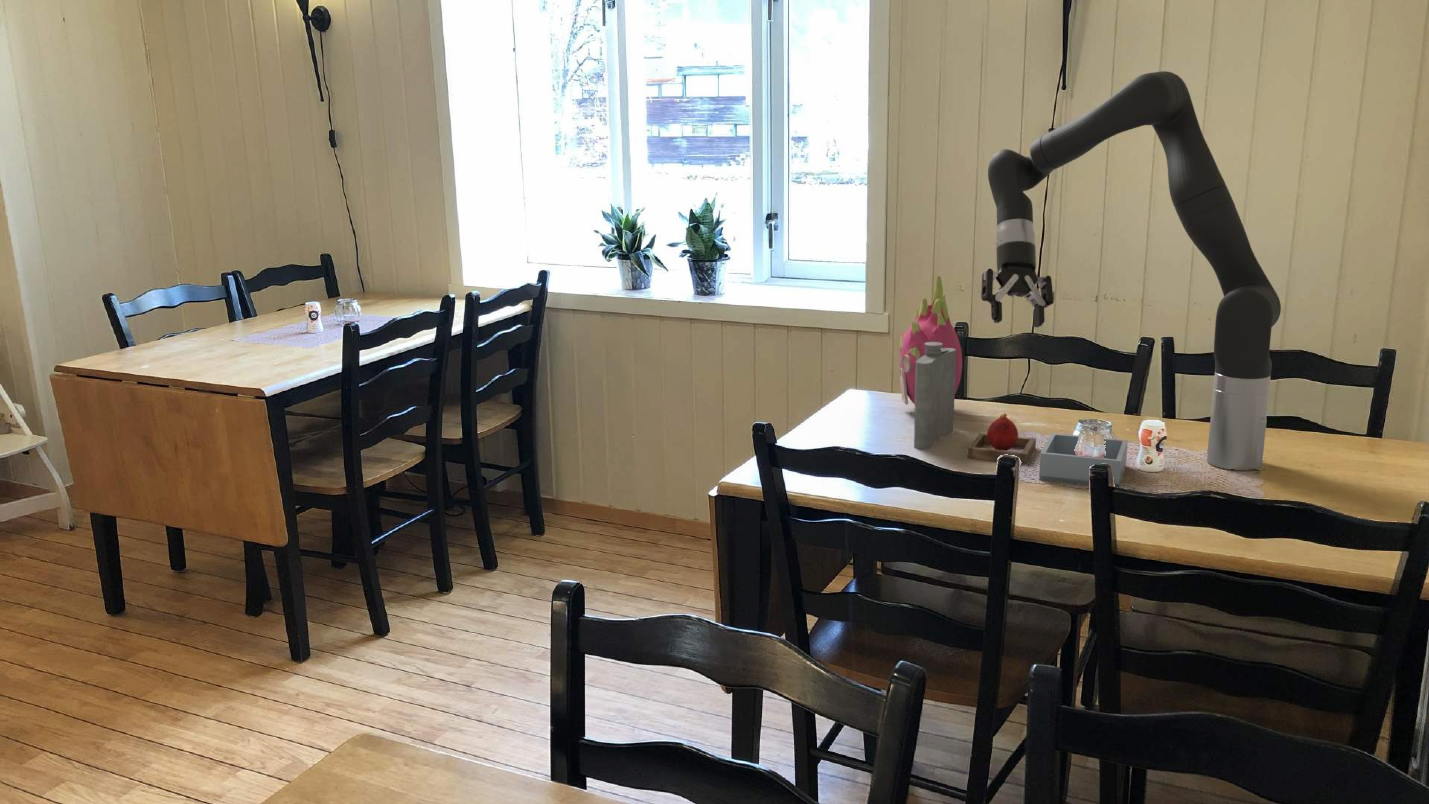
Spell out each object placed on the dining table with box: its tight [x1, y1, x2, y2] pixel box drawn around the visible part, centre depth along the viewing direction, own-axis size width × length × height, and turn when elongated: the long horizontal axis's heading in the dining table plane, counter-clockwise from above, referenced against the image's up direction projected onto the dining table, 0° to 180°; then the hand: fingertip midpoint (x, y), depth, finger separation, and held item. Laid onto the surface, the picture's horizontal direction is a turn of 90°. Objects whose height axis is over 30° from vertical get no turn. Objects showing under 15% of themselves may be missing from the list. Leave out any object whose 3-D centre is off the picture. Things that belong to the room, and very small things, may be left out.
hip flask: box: [913, 342, 956, 450], centre depth 222 cm, size 16×4×20 cm, turn 147°
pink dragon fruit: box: [898, 275, 963, 406], centre depth 242 cm, size 18×14×30 cm
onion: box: [986, 412, 1019, 451], centre depth 213 cm, size 6×6×8 cm
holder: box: [967, 432, 1037, 465], centre depth 214 cm, size 11×11×2 cm
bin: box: [1038, 432, 1129, 488], centre depth 201 cm, size 14×14×5 cm
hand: (1018, 324), depth 215 cm, fingers open, 8 cm apart
